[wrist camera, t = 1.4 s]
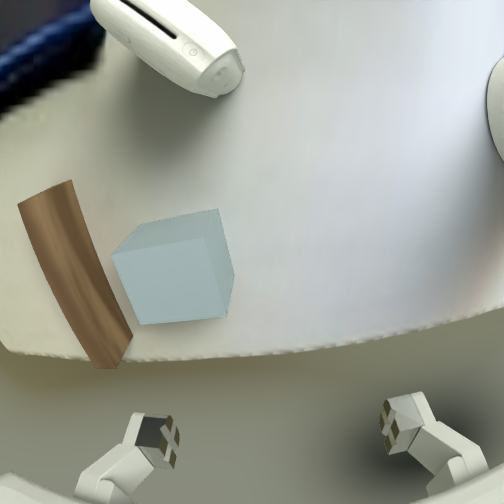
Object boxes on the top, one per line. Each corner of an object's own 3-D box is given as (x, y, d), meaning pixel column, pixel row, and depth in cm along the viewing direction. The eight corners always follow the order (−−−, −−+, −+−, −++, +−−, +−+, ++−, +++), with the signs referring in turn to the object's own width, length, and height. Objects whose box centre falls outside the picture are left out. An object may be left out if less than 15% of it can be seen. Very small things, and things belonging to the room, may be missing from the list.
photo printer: (254, 72, 23) (245, 38, 12) (219, 106, 24) (181, 101, 13) (172, 6, 20) (113, -50, 9) (139, 39, 21) (62, 5, 10)
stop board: (71, 179, 27) (36, 195, 22) (133, 335, 35) (116, 369, 30) (51, 186, 28) (17, 204, 22) (114, 336, 36) (96, 368, 30)
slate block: (218, 208, 28) (204, 237, 22) (234, 274, 31) (226, 316, 25) (141, 224, 29) (110, 254, 23) (162, 284, 32) (140, 324, 26)
